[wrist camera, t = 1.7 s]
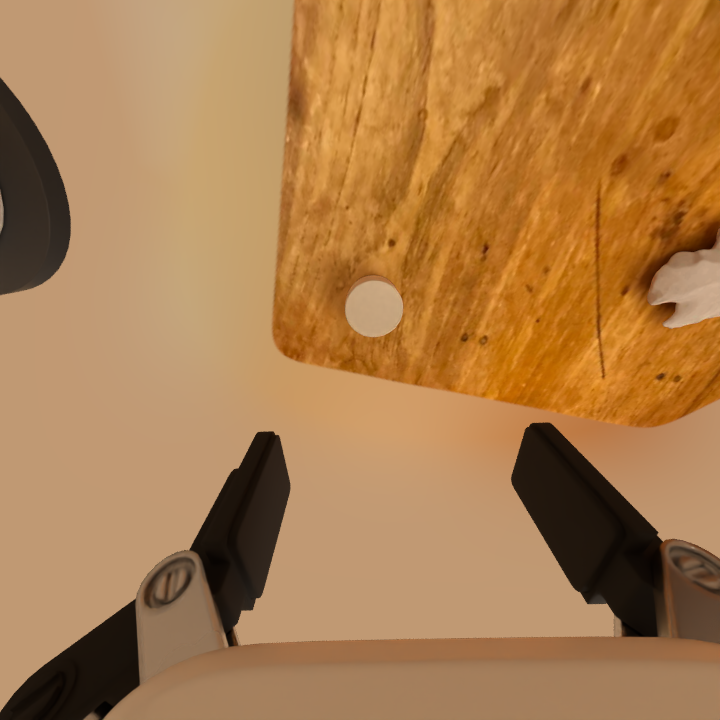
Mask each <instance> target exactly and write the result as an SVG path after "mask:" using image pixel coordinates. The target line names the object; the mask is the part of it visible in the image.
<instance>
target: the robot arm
mask: <svg viewBox="0 0 720 720" xmlns="http://www.w3.org/2000/svg"><path fill="white" fill-rule="evenodd" d="M3 212H4V207H3V202H2V196H1V191H0V233H1V230H2V226H3ZM511 481H512V485H513V487H514V489H515V491H516V492H517V494H518V496H519V497H520V499H521V501H522V502H523V504H524V506H525V507H526V509H527V511H528V513H529V514H530V516H531V518H532V519H533V521H534V523H535V524H536V526H537V528H538V529H539V531H540V533H541V534H542V536H543V537H544V540H545V541H546V543H547V544H548V546H549V548H550V549H551V551H552V553H553V555H554V556H555V558H556V560H557V561H558V563H559V565H560V566H561V568H562V570H563V571H564V573H565V575H566V577H567V578H568V580H569V581H570V583H571V585H572V586H573V588H574V589H575V590H577V591H578V592H580V593H581V594H582V596H583V598H584V599H585V601H586V602H587V604H606V603H607V604H608V605H609V607H610V608H611V610H612V612H613V613H614V637H526V638H525V637H522V638H521V637H520V638H519V637H518V638H457V639H456V638H451V639H396V640H352V641H351V640H349V641H310V642H309V641H308V642H287V643H264V644H251V645H243V646H241V645H240V642H239V639H238V635H237V632H236V629H235V625H236V624H237V623H238V620H239V617H240V614H241V611H242V610H253V607H254V604H255V600H256V598H260V597H261V595H262V593H263V590H264V586H265V583H266V579H267V575H268V572H269V568H270V564H271V561H272V556H273V553H274V549H275V545H276V542H277V538H278V534H279V531H280V527H281V523H282V520H283V516H284V512H285V508H286V505H287V501H288V497H289V493H290V480H289V476H288V472H287V468H286V463H285V459H284V455H283V450H282V446H281V441H280V437H279V435H275V433H274V432H258V433H257V434H256V435H255V437H254V439H253V441H252V443H251V445H250V447H249V449H248V451H247V453H246V455H245V457H244V459H243V461H242V463H241V465H240V467H239V469H234V470H233V471H232V472H231V473H230V475H229V477H228V478H227V480H226V482H225V484H224V486H223V488H222V490H221V492H220V493H219V496H218V497H217V499H216V501H215V503H214V505H213V507H212V508H211V510H210V513H209V514H208V516H207V518H206V520H205V522H204V523H203V525H202V527H201V529H200V531H199V533H198V535H197V537H196V538H195V540H194V542H193V544H192V546H191V548H190V550H189V551H188V550H184V551H180V552H176V553H174V554H172V555H170V556H168V557H166V558H165V559H164V560H162V561H161V562H159V563H158V564H157V565H156V566H155V567H154V568H153V569H152V570H151V571H150V572H149V573H148V574H147V576H146V578H145V579H144V580H143V582H142V583H141V585H140V588H139V590H138V593H137V596H136V599H135V600H133V601H132V602H130V603H129V604H128V605H126V606H125V607H124V608H122V609H121V610H119V611H118V612H117V613H115V614H114V615H113V616H111V617H110V618H108V619H107V620H106V621H104V622H103V623H102V624H100V625H99V626H98V627H96V628H95V629H93V630H92V631H91V632H89V633H88V634H87V635H85V636H84V637H82V638H81V639H80V640H78V641H77V642H75V643H74V644H73V645H71V646H70V647H69V648H67V649H66V650H65V651H63V652H62V653H60V654H59V655H58V656H56V657H55V658H54V659H52V660H51V661H49V662H48V663H47V664H45V665H44V666H43V667H41V668H40V669H39V670H38V671H37V672H35V673H34V674H33V675H32V676H31V677H29V678H28V679H27V681H26V682H25V683H24V684H23V685H22V686H21V687H20V688H19V689H18V690H17V691H16V692H15V693H14V694H13V696H12V697H11V698H10V700H9V701H8V702H7V704H6V705H5V706H4V708H3V709H2V710H1V712H0V720H720V559H719V558H718V557H716V556H715V555H713V554H712V553H710V552H709V551H707V550H705V549H703V548H701V547H699V546H697V545H695V544H692V543H689V542H686V541H683V540H677V539H669V540H665V541H664V542H663V541H662V540H661V539H660V538H659V537H658V536H657V534H658V531H656V529H655V528H653V527H652V526H651V524H650V523H649V522H648V521H647V520H646V519H645V518H644V517H643V516H642V515H641V514H640V513H639V512H638V511H637V510H636V509H635V508H634V507H633V506H632V505H631V504H630V503H629V502H628V501H627V500H626V499H625V498H624V497H623V496H622V495H621V494H620V493H619V492H618V491H617V490H616V489H615V488H614V487H613V486H612V485H611V484H610V483H609V482H608V481H607V480H606V479H605V478H604V477H603V475H602V474H601V473H599V471H598V470H597V469H596V468H595V467H594V466H593V465H592V464H591V463H590V462H589V461H588V460H587V459H586V458H585V457H584V456H583V455H582V454H581V453H580V452H579V451H578V450H577V449H576V448H575V447H574V446H573V445H572V444H571V443H570V442H569V441H568V440H567V439H566V438H565V437H564V436H563V435H562V434H561V433H560V432H559V431H558V430H557V429H556V428H555V427H554V426H553V425H552V424H551V423H532V424H530V426H529V427H527V428H526V429H525V432H524V436H523V439H522V442H521V446H520V449H519V453H518V456H517V459H516V463H515V466H514V470H513V473H512V477H511Z"/></svg>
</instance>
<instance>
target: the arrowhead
mask: <svg viewBox="0 0 720 720" xmlns="http://www.w3.org/2000/svg"><path fill="white" fill-rule="evenodd" d="M647 301H648V303H649V304H650V305H659V304H661V303H666V302H676V306H675V308H676V311H675V313H674V314H673V315H672V316H671V317H670V318H669V319H667V320H666V321H665V322H663V323H662V324H663V326H664V327H668V328H670V329H671V328H675V327H681V326H684V325H687V324H693V323H698V322H700V321H702V320H703V319H706V318H713V317H718V316H720V228H719V230H718V233H717V239H716V242H715V244H714V246H713V247H712V248H711V249H710V250H698V251H695V252H678V253H676V254H674V255H673V256H672V257H671V258H670V260H669V261H668V263H667V264H665V265H663V266H662V267H661V269H660V270H658V271H657V272H656V274H655V275H654V277H653V279H652V282H651V286H650V289H649V292H648V296H647Z"/></svg>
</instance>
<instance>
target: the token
mask: <svg viewBox="0 0 720 720" xmlns="http://www.w3.org/2000/svg"><path fill="white" fill-rule="evenodd" d="M402 314H403V302H402V298H401V296H400V294H399V293H398V291H397V289H396V288H395V286H394V285H393V284H392V283H391V282H390V281H389V280H388V279H386V278H384V277H382V276H377V275H369V276H365V277H362V278H360V279H359V280H357V281H356V282H355V283H354V284H353V285H352V286H351V288H350V289H349V291H348V294H347V298H346V303H345V315H346V319H347V321H348V323H349V325H350V326H351V327H352V328H353V329H354V330H355V331H356V332H358V333H359V334H361V335H364V336H368V337H379V336H383V335H385V334H388V333H389V332H391V331H392V330H393V329H394V328H395V327H396V326H397V325H398V323H399V322H400V320H401V317H402Z"/></svg>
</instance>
